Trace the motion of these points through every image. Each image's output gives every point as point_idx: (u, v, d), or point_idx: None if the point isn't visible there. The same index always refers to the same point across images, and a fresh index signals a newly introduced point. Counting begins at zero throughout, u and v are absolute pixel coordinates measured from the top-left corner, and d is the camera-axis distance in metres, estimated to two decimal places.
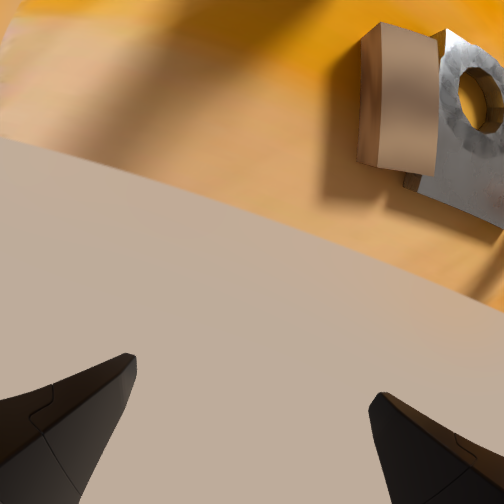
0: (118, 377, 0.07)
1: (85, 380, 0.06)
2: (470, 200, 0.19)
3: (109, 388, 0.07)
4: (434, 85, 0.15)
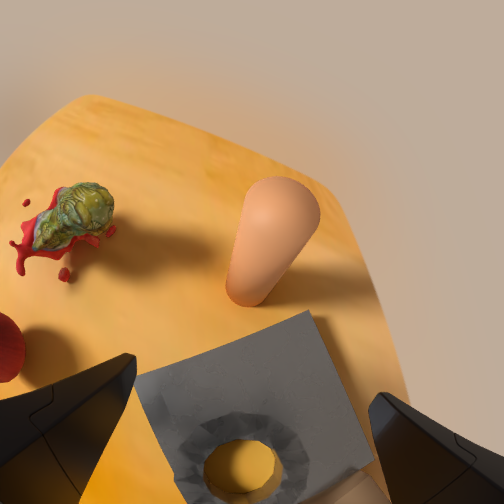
0: (118, 377, 0.07)
1: (85, 380, 0.06)
2: (341, 413, 0.20)
3: (109, 388, 0.07)
4: None
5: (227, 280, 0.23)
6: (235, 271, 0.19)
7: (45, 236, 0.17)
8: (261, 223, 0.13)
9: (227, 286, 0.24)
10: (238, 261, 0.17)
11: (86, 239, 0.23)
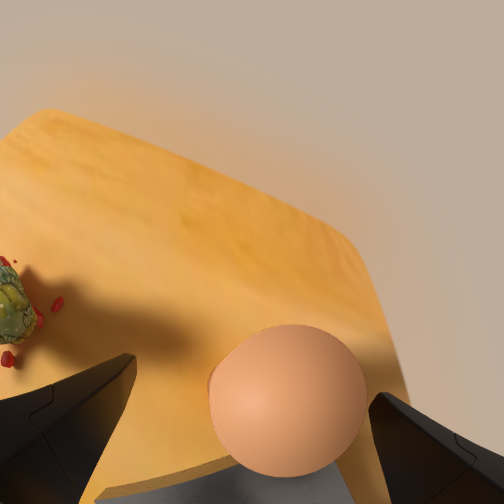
0: (118, 377, 0.07)
1: (85, 380, 0.06)
2: None
3: (109, 388, 0.07)
4: None
5: None
6: None
7: None
8: (247, 443, 0.05)
9: None
10: None
11: None
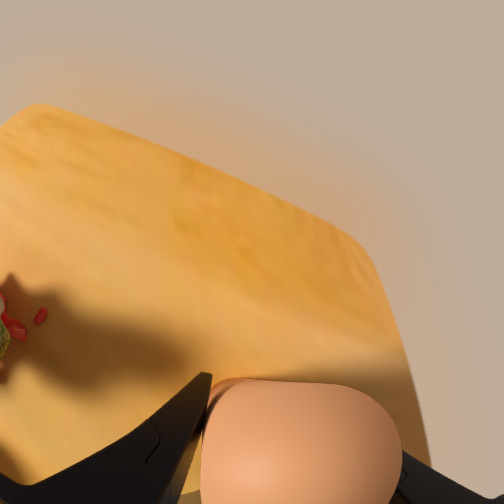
0: (207, 400, 0.08)
1: (180, 408, 0.07)
2: None
3: (202, 412, 0.07)
4: None
5: None
6: None
7: None
8: None
9: None
10: None
11: (7, 331, 0.13)
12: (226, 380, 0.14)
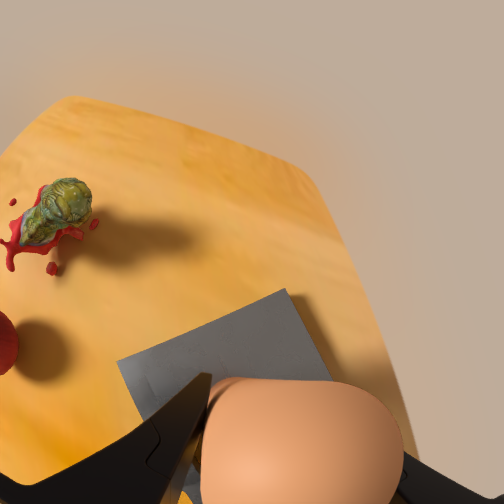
0: (207, 399, 0.08)
1: (180, 408, 0.07)
2: None
3: (202, 412, 0.07)
4: None
5: None
6: None
7: (30, 231, 0.17)
8: None
9: None
10: None
11: (70, 233, 0.24)
12: (226, 379, 0.14)
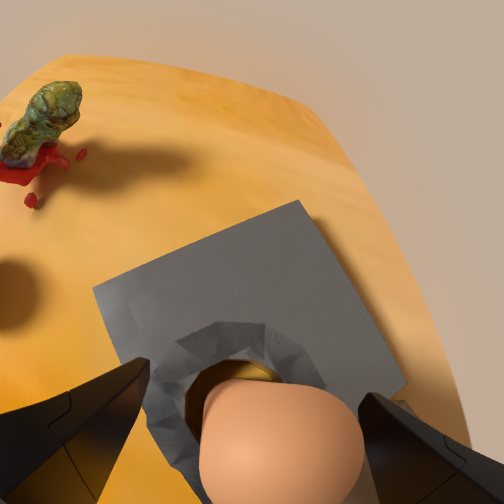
0: (134, 382, 0.07)
1: (102, 386, 0.07)
2: (357, 320, 0.17)
3: (126, 393, 0.07)
4: None
5: None
6: None
7: (10, 136, 0.13)
8: (238, 501, 0.05)
9: None
10: None
11: (55, 161, 0.20)
12: (224, 380, 0.15)
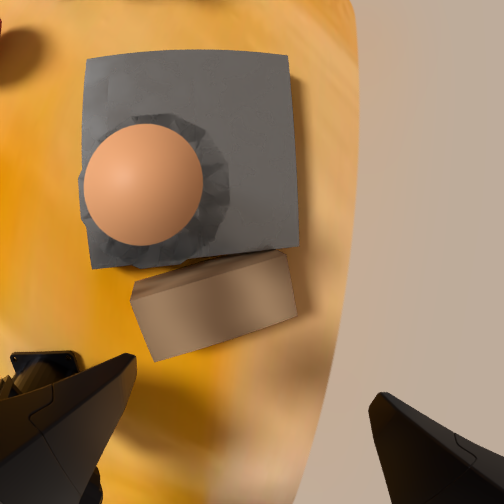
0: (118, 377, 0.07)
1: (85, 380, 0.06)
2: (282, 167, 0.20)
3: (109, 388, 0.07)
4: (190, 289, 0.18)
5: None
6: None
7: None
8: (99, 198, 0.08)
9: None
10: None
11: None
12: None
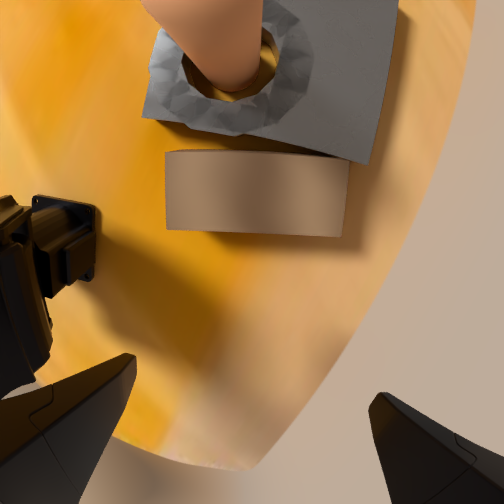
0: (118, 377, 0.07)
1: (85, 380, 0.06)
2: (371, 79, 0.15)
3: (109, 388, 0.07)
4: (232, 159, 0.15)
5: None
6: None
7: None
8: None
9: None
10: None
11: None
12: None
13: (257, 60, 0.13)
